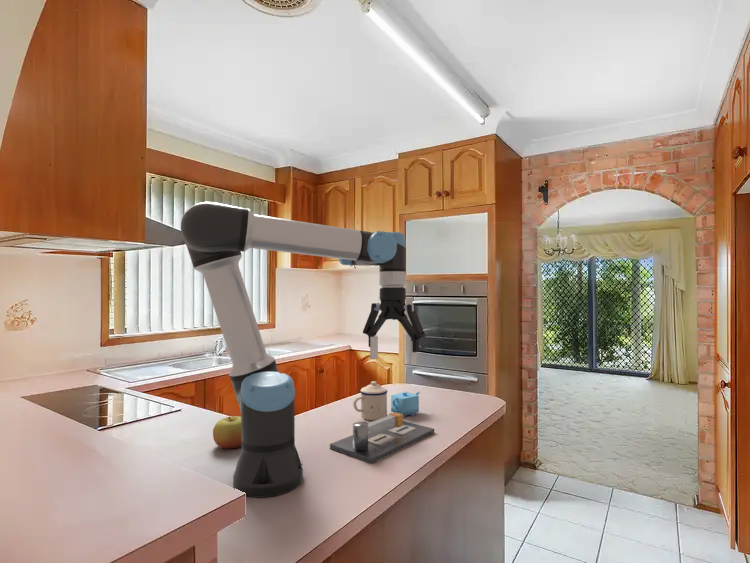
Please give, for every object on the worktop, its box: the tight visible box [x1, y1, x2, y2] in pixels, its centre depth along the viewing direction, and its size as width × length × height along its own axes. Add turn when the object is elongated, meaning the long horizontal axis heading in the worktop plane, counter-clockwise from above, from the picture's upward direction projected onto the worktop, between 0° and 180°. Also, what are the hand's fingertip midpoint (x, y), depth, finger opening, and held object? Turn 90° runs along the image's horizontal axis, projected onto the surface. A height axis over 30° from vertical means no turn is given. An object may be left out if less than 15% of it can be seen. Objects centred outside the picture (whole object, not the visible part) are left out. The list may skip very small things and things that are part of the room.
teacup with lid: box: [352, 381, 388, 421], centre depth 141 cm, size 12×9×12 cm
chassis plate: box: [329, 420, 435, 464], centre depth 120 cm, size 28×15×2 cm, turn 139°
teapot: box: [390, 391, 421, 418], centre depth 145 cm, size 12×6×8 cm, turn 125°
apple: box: [212, 415, 242, 450], centre depth 118 cm, size 10×10×8 cm
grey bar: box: [352, 412, 404, 450], centre depth 117 cm, size 18×4×6 cm, turn 139°
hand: (392, 361), depth 122 cm, fingers open, 13 cm apart
